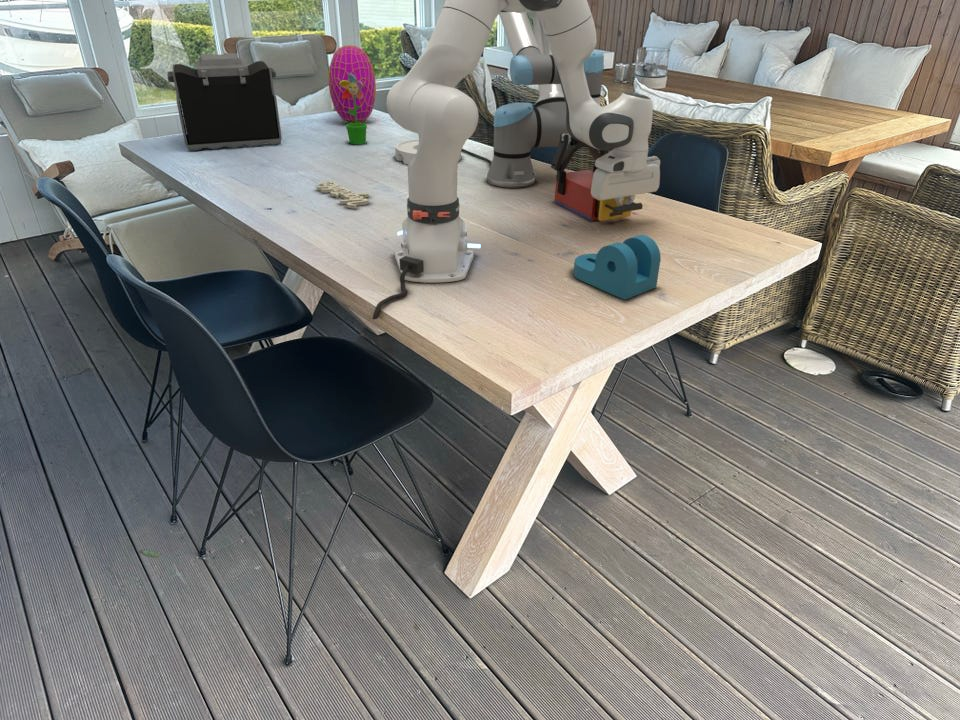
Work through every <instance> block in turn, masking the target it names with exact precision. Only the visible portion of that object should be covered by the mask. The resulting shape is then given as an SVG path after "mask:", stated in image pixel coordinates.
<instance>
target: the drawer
mask: <svg viewBox="0 0 960 720" xmlns="http://www.w3.org/2000/svg"><path fill="white" fill-rule="evenodd" d="M626 199H627V197H626V196H625V197H624V200H623V201H622V204H624V203H625V201H626ZM643 207H644V205H643V203H642V202H634V201H633V202H632V204H629V205H623V206H617V204H616V202H615V199H614V198H613V199H607V200H601V201H600V200H597V199H596V206H595V215H597V216H598V220H597V221H600V222H603V221H609V220H614V219H621V218H625V217H631V213H632V212H634V211H639V210H642V209H643Z"/></svg>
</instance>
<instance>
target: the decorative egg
mask: <svg viewBox="0 0 960 720" xmlns="http://www.w3.org/2000/svg"><path fill="white" fill-rule="evenodd" d="M348 73H350V74H352V75H354V76H355V78H356V83H357V82H358V81H361V82H362V84H363V89H361V90H360V91H361V92H362V93H363V98H362V100H359V99H358V98H357V97H356V95H355V103H356V106H359V109H358V110H356V116H357V123H364V122H365V121H366V120H368V118H369V117H370V116H371V114H372V112H373V111H374V106H375V103H376V102H375V101H376V96H377V95H376V94H377V83H376V82H377V81H376V75H375V71H374V68H373V63H372V62H371V60H370V57H369V56H368V54H367V53H366V51H365V50H363V48H361V47H359V46H357V45H353V44H352V45H351V44H348V45H343V46H340V47H338V48H337V49H336V51H334V53H333V56H332V57H331V61H330V63H329V69H328V90H329V96H330V99H331V103H332V105H333V108H334V110H335V111H336V113H337V114H338V116H339V118H341V119H342V120H343V121H344V122H346V123H348V124H349V123H355V115H351V114H349V112H348V111H349V110H354V100H353V95H352V96H351V97H350V98H348V99H341V97H342V94H343V93H344V91H345V90H347V89H346V88H343V87H342V86H341V85H340V84H339V83H340V82H341V81H342V80H346V81H349V78H348Z"/></svg>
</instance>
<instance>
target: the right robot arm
mask: <svg viewBox="0 0 960 720" xmlns="http://www.w3.org/2000/svg"><path fill="white" fill-rule="evenodd" d="M498 16H499V18H500V21H501V23H502V26H503V29H504V33H505V35H506V38H507V42H508V45H509V47H510V50H511V53H512V57H511V59H510V62H509V77H510V80H511V82H512V83H513V84H514V85H517V86H537V87H538V96H539V97H538V99H537V100H536V102H535V103H534V106H533V104H532V103H531V102H512V103H507V104H504V105H501V106H499V107H498V108H496V110H495V112H494V118H493V124H492V125H493V157H492V160H490V159H489V158H487V157H484V156H481V155H479V154H477V153H474V152H471V151H469V150H467V149H464V148H462V150H461V152H464V153H466V154H468V155H472V156H473V157H476V158H478V159H480V160H484V161H486V162H488V163H489V165H490V167H489V170H488V171H487V177H486V178H487V179H486V181H487V183H488V184H490V185H491V186H495V187H498V188H499V187H500V188H505V189H506V188H508V189H517V188H519V189H521V188H526V187H530V186H533V185H534V184H535V183H536V174H535V172H534V167H533V162H532V159H531V153H532V151H531V150H532V148H553V147H556V150H555V154H554V157H553V159H552V162H551V163H550V169H553V170H555V171H556V174H557V176H556V175H555V182H556V181H557V182H558V191H557V193H559V194H561V195H565V185H566V173H567V171H565V170H566V168H567V167H568V165H569V164H570V161H571V160H572V158H573V157H574V155H575V153H577V152H578V150H579V149H582V148H588V150H589V153H590V154H591V157H592V158H593V160H594V162H595V161H596V159H598V158H599V157H601V156H603V155H605V154H607V153H609V150H598V149H595V148H593V147H592V146H589V145H587V144H585V143H584V142H580V141H577V140H575V139H573V138H572V137H571V136H570V134H569V133H568V131H567V127H566V102H565V98H564V95H563V91H562V87H561V84H560V80H559V76H558V73H557V68H556V64H555V61H554V57H553V55H552V52H551V49H550V47H549V44H548V41H547V38H546V35H545V32H544V29H543V26H542V22H541V19H540V17H539V16H538V14H537V13H536V12H535V11H532V12H527V13H515V12H500V13H499V14H498ZM530 19H532V23H533V28H532V25H531V21H530ZM604 60H605V54H604V52H602V51H601V50H595V49H594V50H593V52H592V54H591V55H590V56H589V57H588V58H587V59H586V60H585V61H584V72H585V76H586V80H587V84H588V88H589V92H590V95H591V97H592V99H593V100H594V101H595V102H596V103H597V104H598V105H600V106H601V95H602V86H603V85H602V84H603V74H604V68H605V64H604V62H605V61H604ZM592 167H593V168H592V171H593V172H595V170H596V169H598V168H597V167H596V166H595V164H594V165H593V166H592Z"/></svg>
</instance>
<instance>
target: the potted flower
mask: <svg viewBox="0 0 960 720" xmlns="http://www.w3.org/2000/svg"><path fill="white" fill-rule="evenodd" d="M348 78H349V81H346V80H342V81H341V82H340V83H339V84H340V85H341V86H342V87H343V88H346V89H347V90H345V91H344V93H343V94H342V97H341V99H348V98H350V97H351V96H352V95H353V100H354V110H349V111H348V112H349V114H351V115H355V123H349V122H348V123H347V124H346V125H345V128H346V131H347V136H348V141H349V144H352V145H363V144H366V143H367V129H368V124H367V123H366V122H365V123H364V122H361V123H357V116H356V110H358V109H359V106H356V103H355V95H356V97H357V98H358V99H359V100H362V98H363V93H362V92H361V91H360V90H361V89H363V84H362V82H361V81H358V82H357V83H356V78H355V76H354V75H352V74H350V73H348Z"/></svg>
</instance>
